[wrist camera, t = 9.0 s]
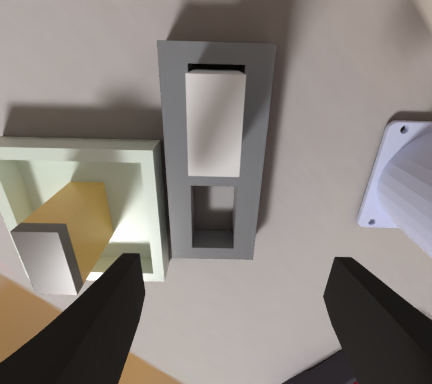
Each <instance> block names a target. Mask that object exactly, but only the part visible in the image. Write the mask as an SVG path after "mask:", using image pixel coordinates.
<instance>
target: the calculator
mask: <svg viewBox="0 0 432 384" xmlns="http://www.w3.org/2000/svg"><path fill="white" fill-rule="evenodd" d="M282 384H358V383H357V380H356V378H355V376H354V374H353V371H352V369H351V367H350V365H349V362H348V360H347V358H346V356H345V353H344V351H343V349H342V350H341V351H339V352H337V353H336V354H334V355H333V356H331V357H330V358H328V359H327V360H325V361H324V362H322V363H321V364H319V365H318V366H316V367H315V368H313V369H311V370H305V371H303V372H302V373H300V374H298V375H296V376H295V377H293V378H291V379H289V380H288V381H286V382H284V383H282Z"/></svg>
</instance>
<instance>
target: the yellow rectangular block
mask: <svg viewBox="0 0 432 384" xmlns="http://www.w3.org/2000/svg"><path fill="white" fill-rule="evenodd" d="M10 233H11V235H12V238H13V240H14V243H15V245H16V247H17V250H18V252H19V255H20V257H21V260H22V262H23V264H24V267H25V269H26V272H27V274H28V276H29V279H30V281H31V284H32V286H33V288H34V291H35V293H36V294H61V295H77V294H78V293H79V291H80V289H81V288H82V286H83V284H84V283H85V281H86V279H87V278H88V276H89V274H90V273H91V271H92V269H93V267H94V266H95V264H96V262H97V261H98V259H99V257H100V256H101V254H102V252H103V251H104V249H105V247H106V246H107V244H108V242H109V241H110V239H111V237H112V236H113V234H114V231H113V226H112V221H111V216H110V211H109V206H108V200H107V195H106V190H105V185H104V182H69V183H68V184H67V185H65V186H64V187H63V188H62V189H61V190H59V191H58V192H57V193H56V194H55V195H53V196H52V197H51V198H50V199H49V200H47V201H46V202H45V203H44V204H43V205H41V206H40V207H39V208H38V209H37V210H35V211H34V212H33V213H32V214H31V215H29V216H28V217H27V218H26V219H25V220H23V221H22V222H21V223H20V224H19V225H17V226H16V227H15V228H14V229H13V230H11V231H10Z"/></svg>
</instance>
